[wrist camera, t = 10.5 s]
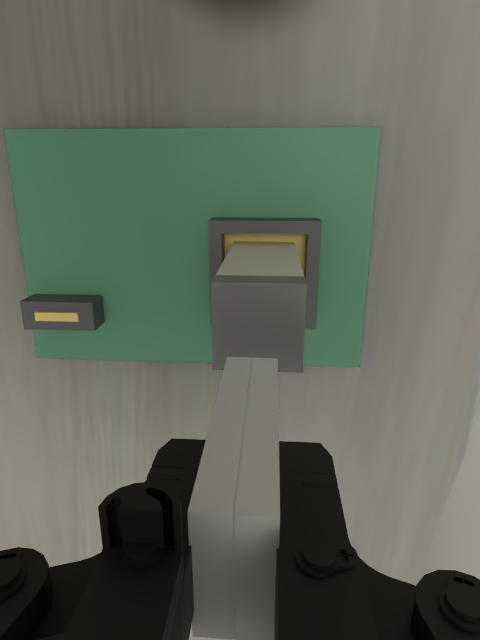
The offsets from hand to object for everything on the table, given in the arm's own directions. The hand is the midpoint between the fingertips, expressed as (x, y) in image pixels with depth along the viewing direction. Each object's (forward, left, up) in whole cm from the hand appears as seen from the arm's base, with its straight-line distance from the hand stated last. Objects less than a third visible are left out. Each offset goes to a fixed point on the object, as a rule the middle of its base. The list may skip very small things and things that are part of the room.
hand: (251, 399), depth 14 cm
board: (-1, -5, -20) cm, 20 cm away
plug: (0, 0, -18) cm, 18 cm away
